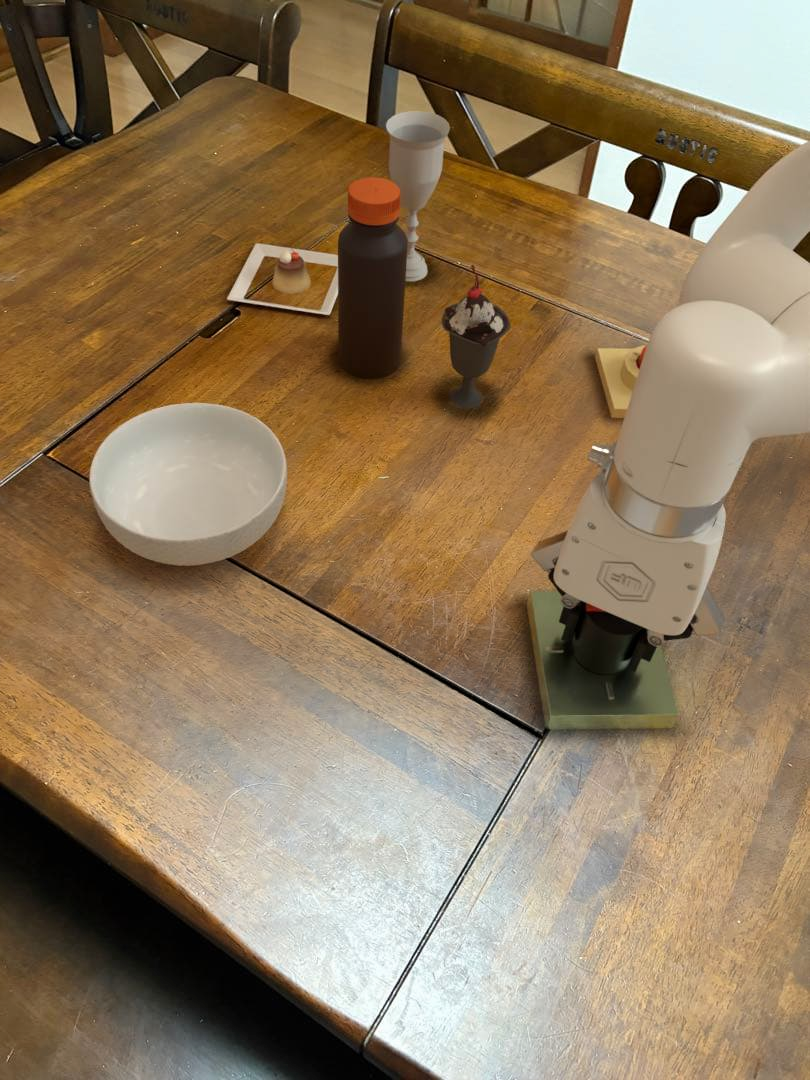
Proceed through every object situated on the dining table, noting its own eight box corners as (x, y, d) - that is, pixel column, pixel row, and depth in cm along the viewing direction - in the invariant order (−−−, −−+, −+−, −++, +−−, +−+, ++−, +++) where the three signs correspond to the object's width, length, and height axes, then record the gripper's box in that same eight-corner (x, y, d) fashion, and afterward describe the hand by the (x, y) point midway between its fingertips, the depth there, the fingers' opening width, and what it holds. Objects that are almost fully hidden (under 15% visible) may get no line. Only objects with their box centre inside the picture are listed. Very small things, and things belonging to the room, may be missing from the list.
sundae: (456, 371, 99) (470, 248, 88) (508, 397, 97) (530, 274, 86) (421, 403, 96) (431, 279, 84) (475, 430, 93) (493, 307, 82)
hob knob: (625, 625, 75) (643, 582, 71) (635, 675, 72) (654, 633, 68) (567, 624, 75) (582, 581, 71) (575, 674, 72) (590, 632, 67)
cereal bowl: (297, 583, 79) (294, 530, 74) (100, 603, 77) (81, 549, 72) (282, 448, 90) (278, 393, 85) (108, 461, 88) (93, 405, 82)
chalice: (426, 296, 108) (438, 148, 94) (372, 283, 109) (376, 134, 95) (444, 264, 112) (458, 118, 99) (392, 251, 114) (399, 106, 100)
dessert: (352, 265, 111) (352, 229, 108) (329, 323, 104) (329, 286, 100) (256, 250, 112) (253, 215, 109) (227, 307, 104) (223, 271, 101)
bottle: (380, 390, 97) (387, 217, 81) (326, 368, 98) (323, 195, 83) (411, 356, 100) (424, 185, 85) (359, 335, 102) (361, 164, 87)
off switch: (681, 361, 102) (690, 336, 100) (704, 422, 96) (714, 396, 93) (593, 360, 102) (600, 334, 99) (610, 421, 95) (618, 395, 93)
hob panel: (638, 607, 80) (646, 589, 78) (670, 731, 72) (679, 714, 70) (525, 607, 79) (530, 589, 77) (544, 732, 71) (550, 715, 69)
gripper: (521, 473, 59) (487, 633, 73) (782, 576, 55) (693, 726, 68) (563, 406, 64) (524, 569, 77) (808, 497, 59) (719, 653, 73)
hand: (604, 641), depth 73 cm, fingers closed on hob knob, 4 cm apart
